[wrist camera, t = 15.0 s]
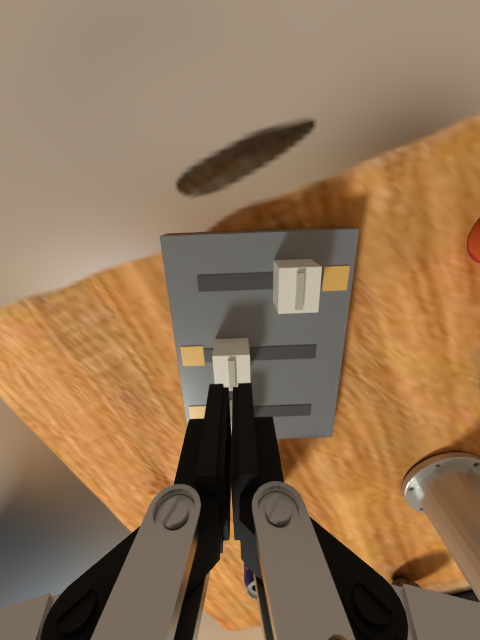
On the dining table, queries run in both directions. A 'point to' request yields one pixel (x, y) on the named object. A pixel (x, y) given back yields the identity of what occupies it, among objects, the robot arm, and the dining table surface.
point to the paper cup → (474, 242)
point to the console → (262, 319)
